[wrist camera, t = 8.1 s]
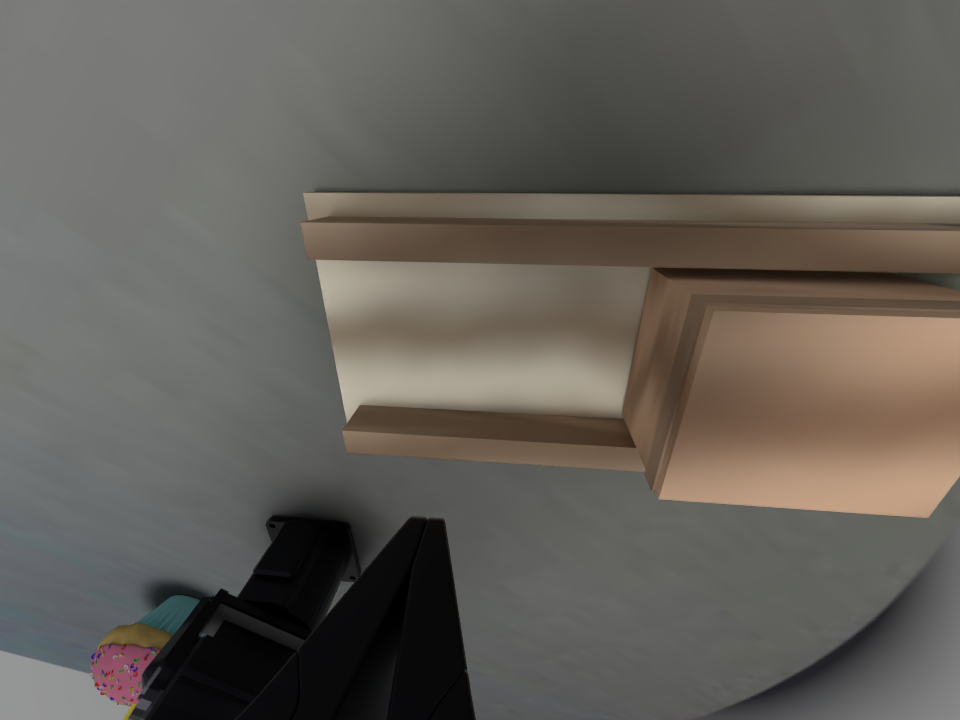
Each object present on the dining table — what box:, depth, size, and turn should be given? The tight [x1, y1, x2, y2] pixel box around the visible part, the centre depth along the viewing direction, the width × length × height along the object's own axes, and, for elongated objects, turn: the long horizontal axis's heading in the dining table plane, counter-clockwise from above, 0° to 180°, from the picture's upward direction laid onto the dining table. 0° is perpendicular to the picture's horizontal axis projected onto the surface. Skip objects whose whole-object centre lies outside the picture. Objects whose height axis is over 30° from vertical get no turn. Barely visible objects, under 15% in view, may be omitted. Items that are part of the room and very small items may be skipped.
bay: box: [300, 192, 960, 472], centre depth 18 cm, size 14×30×4 cm, turn 90°
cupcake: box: [90, 595, 205, 720], centre depth 31 cm, size 9×8×12 cm
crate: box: [622, 268, 960, 518], centre depth 16 cm, size 8×10×6 cm
